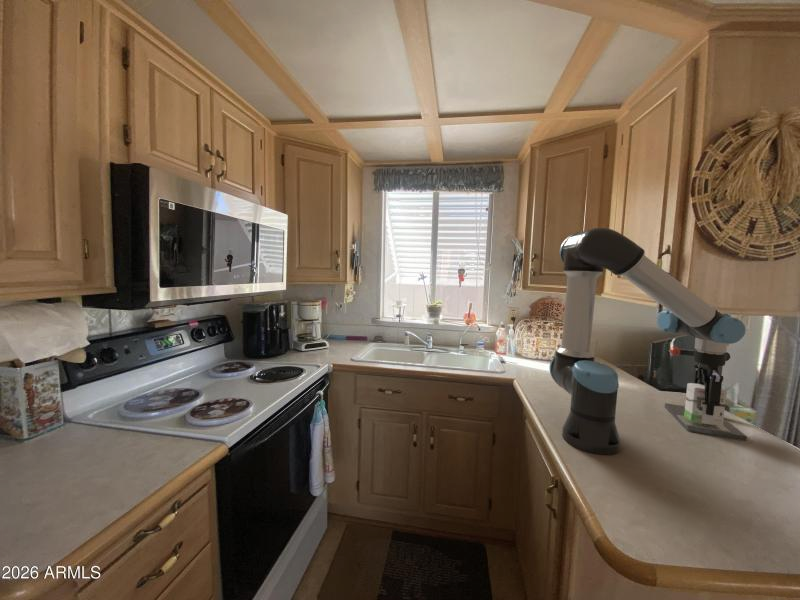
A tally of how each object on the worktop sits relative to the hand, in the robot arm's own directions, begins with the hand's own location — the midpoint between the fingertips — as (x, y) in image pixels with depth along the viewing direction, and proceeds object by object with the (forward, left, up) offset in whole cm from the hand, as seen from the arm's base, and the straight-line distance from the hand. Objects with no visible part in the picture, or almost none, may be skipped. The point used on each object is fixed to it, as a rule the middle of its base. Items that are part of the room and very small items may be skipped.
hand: (702, 419), depth 107 cm
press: (+6, -2, -3) cm, 7 cm away
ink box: (0, 0, 0) cm, 0 cm away
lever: (+12, -2, +18) cm, 22 cm away
